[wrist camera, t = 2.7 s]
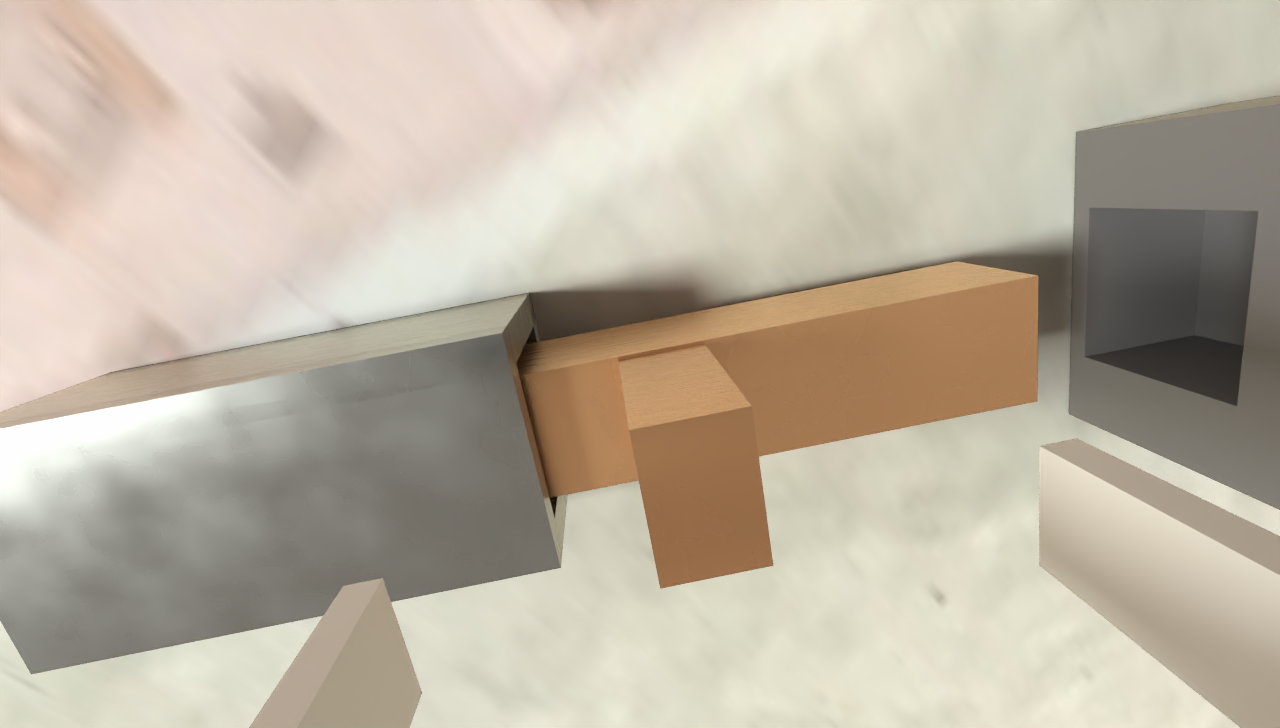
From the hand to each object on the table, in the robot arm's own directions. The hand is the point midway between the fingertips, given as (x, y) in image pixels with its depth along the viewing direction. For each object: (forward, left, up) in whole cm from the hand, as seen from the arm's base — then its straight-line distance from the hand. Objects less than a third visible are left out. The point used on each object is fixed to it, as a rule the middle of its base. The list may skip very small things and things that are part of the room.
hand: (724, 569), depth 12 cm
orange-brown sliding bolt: (0, -2, -13) cm, 13 cm away
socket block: (0, +22, -14) cm, 26 cm away
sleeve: (0, -13, -14) cm, 19 cm away
